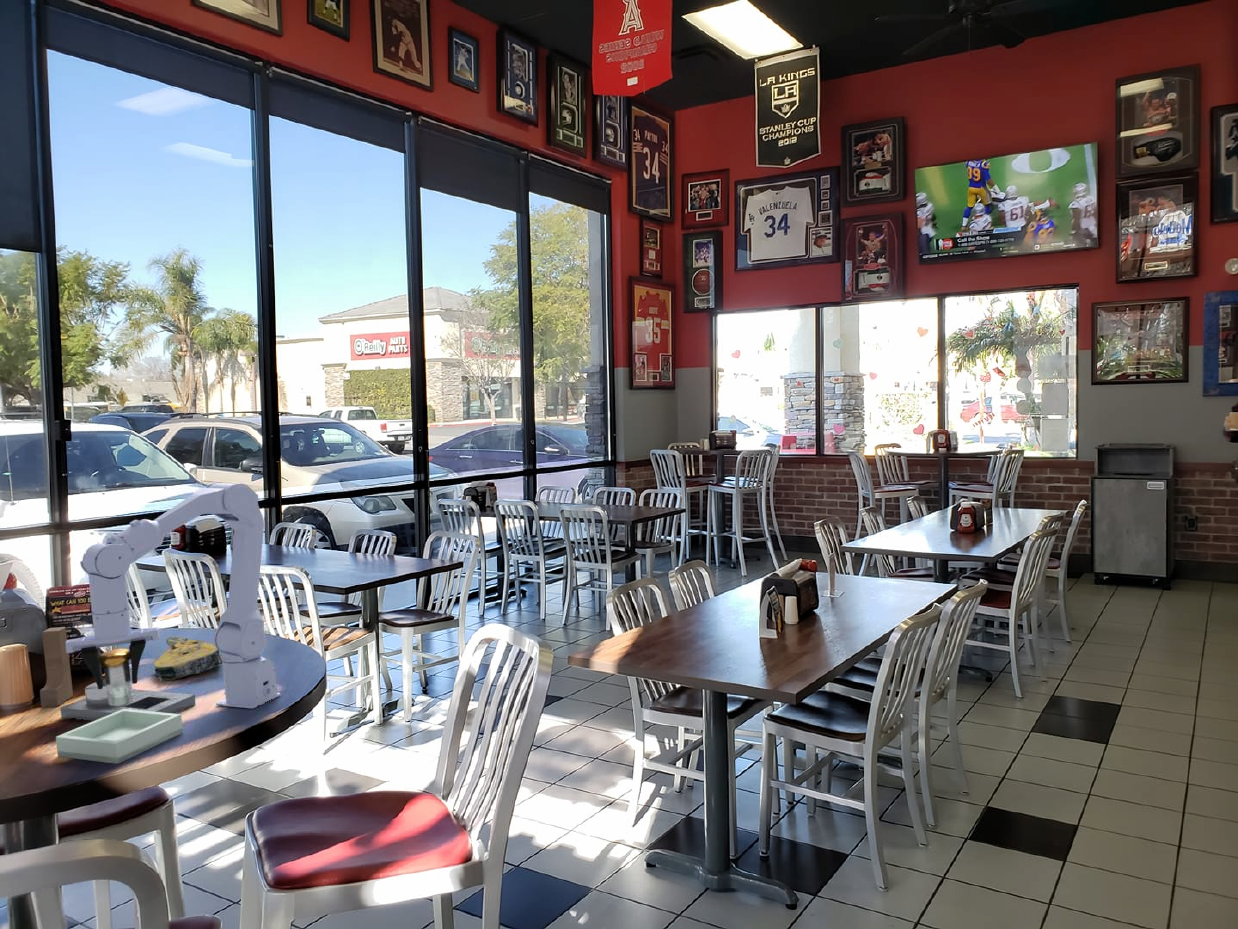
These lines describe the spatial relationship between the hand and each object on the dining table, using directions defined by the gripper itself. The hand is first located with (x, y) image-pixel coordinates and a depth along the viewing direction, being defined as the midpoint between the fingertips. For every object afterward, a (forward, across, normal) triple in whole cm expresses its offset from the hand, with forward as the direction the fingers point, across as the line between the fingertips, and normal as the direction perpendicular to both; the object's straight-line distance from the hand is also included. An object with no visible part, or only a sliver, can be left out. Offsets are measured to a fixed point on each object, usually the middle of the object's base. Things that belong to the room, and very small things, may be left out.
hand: (118, 685), depth 164 cm
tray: (+10, 0, +1) cm, 11 cm away
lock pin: (+3, 0, -2) cm, 4 cm away
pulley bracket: (+10, 0, -18) cm, 21 cm away
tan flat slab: (+11, -10, -47) cm, 49 cm away
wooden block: (+11, +14, -34) cm, 38 cm away
